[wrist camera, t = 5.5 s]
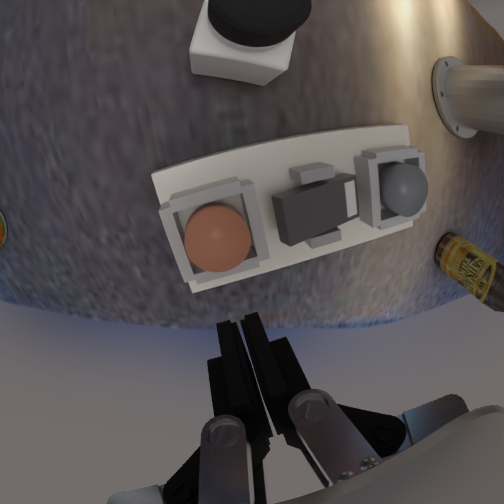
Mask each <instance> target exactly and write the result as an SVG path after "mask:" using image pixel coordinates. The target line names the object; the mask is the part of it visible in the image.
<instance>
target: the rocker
mask: <svg viewBox="0 0 504 504" xmlns="http://www.w3.org/2000/svg"><path fill="white" fill-rule="evenodd" d="M271 198H272V203H273V208H274V213H275V218H276V223H277V228H278V233H279V239H280V241H281V242H282V243H284V244H286V245H288V246H289V247H291V246H294V245H296V244H298V243H300V242H303V241H305V240H307V239H310V238H312V237H314V236H316V235H319V234H321V233H323V232H326V231H328V230H330V229H332V228H335V227H337V226H339V225H341V224H344V223H346V222H348V221H350V220H353V219H355V218H357V217H359V216H360V213H359V200H358V189H357V179H356V175H354V174H347V173H342V174H339V175H335V177H333V178H329V179H324V180H320V181H315V182H312V183H309V184H306V185H303V186H299V187H296V188H293V189H290V190H287V191H284V192H281V193H278V194H275V195H272V196H271Z"/></svg>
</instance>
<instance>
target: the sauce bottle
mask: <svg viewBox="0 0 504 504" xmlns="http://www.w3.org/2000/svg"><path fill="white" fill-rule="evenodd" d="M436 263H437V264H438V266H439V267H441V269H442V270H443V271H444V272H445V273H446V274H448V275H449V276H450V277H452V278H453V279H454V280H455V281H457V282H458V283H459V284H460V285H462V286H463V287H464V288H465V289H466V290H468V291H469V292H470V293H471V294H472V295H474V296H475V297H476V298H477V299H478V300H479V301H480V302H482V303H483V304H485V305H487V306H488V307H490V308H491V309H493V310H494V311H500V312H504V266H503V265H501V263H500V262H499V261H497V260H496V259H494V258H493V257H491V256H490V255H489V254H487V253H486V252H484V251H483V250H481V249H480V248H478V247H477V246H475V245H473V244H472V243H470V242H469V241H467V240H466V239H464V238H462V237H461V236H457V235H456V234H454V233H449V234H447V235H445V236H444V238H443V239H442V240H441V241H440V243H439V245H438V247H437V250H436Z"/></svg>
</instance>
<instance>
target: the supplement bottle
mask: <svg viewBox="0 0 504 504" xmlns="http://www.w3.org/2000/svg"><path fill="white" fill-rule="evenodd" d="M6 237H7V225H6V221H5V218H4V216H3V214H2V213H1V211H0V247H1V246H2V245H3V244H4V242H5V240H6Z"/></svg>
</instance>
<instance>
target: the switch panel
mask: <svg viewBox="0 0 504 504" xmlns="http://www.w3.org/2000/svg"><path fill="white" fill-rule="evenodd" d="M395 161H396V162H401V163H406V164H410V165H414V166H417V167H419V168H420V169H421V170H422V171H423V172H424V174H425V176H426V167H425V152H424V151H419V150H418V147H412V146H410V140H409V131H408V125H405V124H381V125H368V126H358V127H349V128H340V129H332V130H325V131H318V132H311V133H305V134H299V135H293V136H288V137H282V138H277V139H272V140H267V141H262V142H258V143H253V144H249V145H244V146H240V147H236V148H232V149H228V150H224V151H220V152H216V153H212V154H208V155H205V156H201V157H198V158H194V159H191V160H187V161H184V162H181V163H177V164H174V165H171V166H168V167H165V168H162V169H159V170H156V171H155V172H153V173H152V174H151V176H152V179H153V182H154V186H155V189H156V192H157V195H158V198H159V201H160V205H161V207H160V209H159V214H160V217H161V220H162V223H163V226H164V229H165V232H166V235H167V237H168V240H169V243H170V246H171V248H172V251H173V254H174V257H175V259H176V262H177V264H178V267H179V270H180V272H181V275H182V277H183V280H184V282H185V283H186V282H188V283H189V285H190V288H191V290H192V293H195V292H199V291H202V290H206V289H210V288H213V287H217V286H220V285H224V284H227V283H231V282H234V281H238V280H241V279H245V278H248V277H252V276H255V275H259V274H262V273H266V272H269V271H272V270H276V269H279V268H283V267H286V266H289V265H293V264H296V263H299V262H303V261H306V260H309V259H312V258H316V257H319V256H322V255H325V254H329V253H332V252H335V251H338V250H341V249H345V248H348V247H351V246H354V245H357V244H360V243H363V242H367V241H370V240H373V239H376V238H379V237H382V236H385V235H388V234H391V233H394V232H397V231H400V230H403V229H406V228H409V227H412V226H413V220H415V219H418V218H420V213H424V212H426V201H425V203H424V205H423V207H422V208H421V210H420V211H419V212H418V213H417V214H415V215H413V216H411V217H404V216H401V215H399V214H397V213H395V212H393V211H391V210H389V209H387V208H385V207H384V206H383V205H382V204H381V203H380V191H379V178H378V175H379V173H380V171H381V170H382V168H383V167H384V166H385V165H387V164H388V163H390V162H395ZM342 173H347V174H354V175H356V179H357V189H358V200H359V213H360V216H359V217H357V218H355V219H353V220H350V221H348V222H346V223H344V224H341V225H339V226H337V227H335V228H332V229H330V230H328V231H326V232H323V233H321V234H319V235H316V236H314V237H312V238H310V239H307V240H305V241H303V242H300V243H298V244H296V245H294V246H291V247H289V246H288V245H286V244H284V243H282V242H281V241H280V239H279V233H278V228H277V223H276V218H275V213H274V208H273V203H272V198H271V196H272V195H275V194H278V193H281V192H284V191H287V190H290V189H293V188H296V187H299V186H303V185H306V184H309V183H312V182H315V181H320V180H324V179H329V178H333V177H335V175H339V174H342ZM211 202H221V203H226V204H228V205H231V206H232V207H234V208H235V209H236V210H238V212H239V213H240V214H241V215H242V217H243V219H244V221H245V223H246V225H247V226H248V229H249V231H250V235H251V246H250V250H249V252H248V254H247V256H246V258H245V259H244V260H243V261H242V262H241V263H240V264H239V265H238V266H236V267H235V268H233V269H231V270H228V271H225V272H209V271H205V270H203V269H201V268H199V267H197V266H196V265H195V264H194V263H193V262H192V261H191V260H190V259H189V257H188V255H187V253H186V250H185V244H184V240H185V232H186V225H187V222H188V219H189V217H190V216H191V214H192V213H193V212H194V211H195V210H196V209H197V208H199V207H200V206H202V205H204V204H207V203H211Z"/></svg>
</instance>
